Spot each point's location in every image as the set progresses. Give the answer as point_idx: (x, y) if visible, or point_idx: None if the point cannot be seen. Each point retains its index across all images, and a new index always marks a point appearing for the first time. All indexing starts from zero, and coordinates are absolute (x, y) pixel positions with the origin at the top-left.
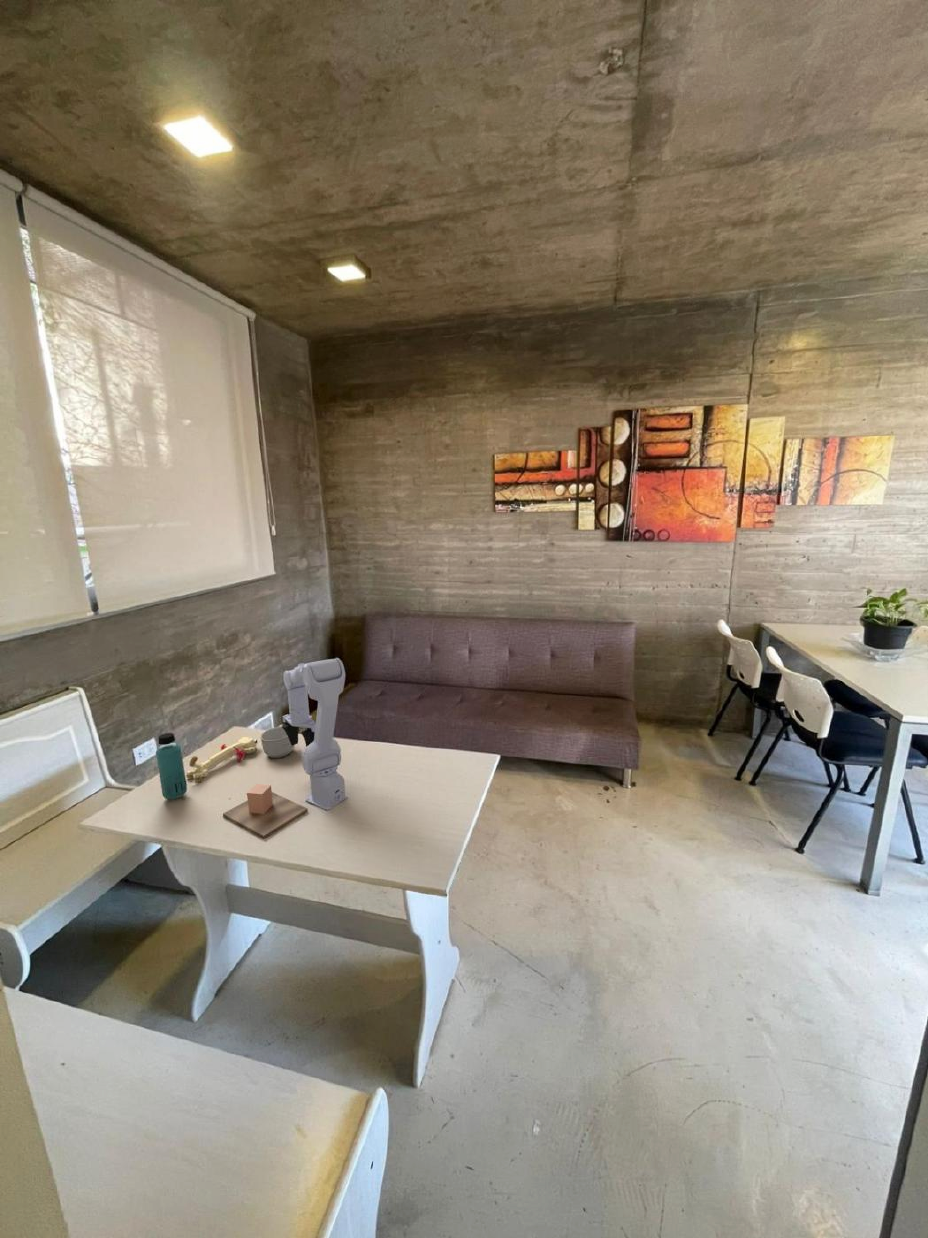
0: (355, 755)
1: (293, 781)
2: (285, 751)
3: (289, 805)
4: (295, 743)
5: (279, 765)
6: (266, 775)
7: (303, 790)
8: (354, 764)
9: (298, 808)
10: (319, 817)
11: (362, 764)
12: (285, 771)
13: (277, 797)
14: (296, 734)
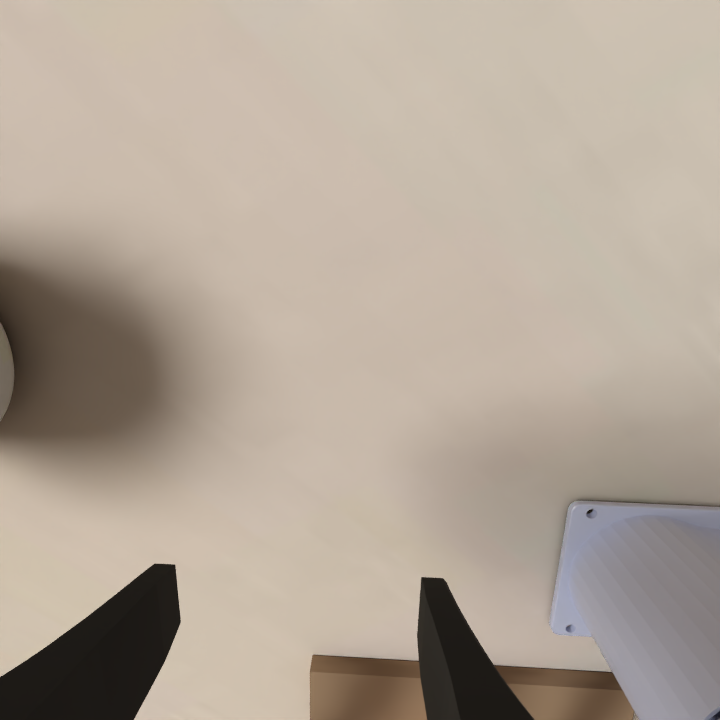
0: (450, 48)
1: (335, 530)
2: (3, 388)
3: (532, 710)
4: (171, 599)
5: (99, 450)
6: (147, 555)
7: (462, 565)
8: (542, 176)
9: (595, 709)
10: None
11: (602, 141)
12: (196, 479)
13: (419, 693)
14: (99, 668)
